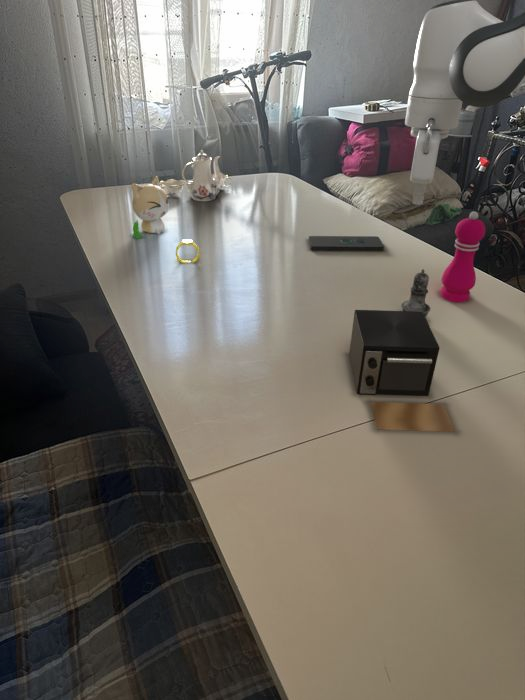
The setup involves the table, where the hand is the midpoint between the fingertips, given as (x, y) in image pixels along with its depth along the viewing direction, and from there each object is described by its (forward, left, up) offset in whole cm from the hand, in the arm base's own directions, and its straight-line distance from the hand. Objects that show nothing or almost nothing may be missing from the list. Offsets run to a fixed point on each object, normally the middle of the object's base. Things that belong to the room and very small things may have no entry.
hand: (418, 196), depth 95 cm
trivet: (+4, +32, -26) cm, 42 cm away
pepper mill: (-15, -11, -26) cm, 32 cm away
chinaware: (+54, -86, -26) cm, 105 cm away
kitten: (+63, -49, -26) cm, 84 cm away
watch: (+49, -27, -26) cm, 62 cm away
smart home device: (+7, -41, -26) cm, 49 cm away
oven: (+6, +21, -26) cm, 34 cm away
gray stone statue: (-3, +1, -26) cm, 26 cm away
